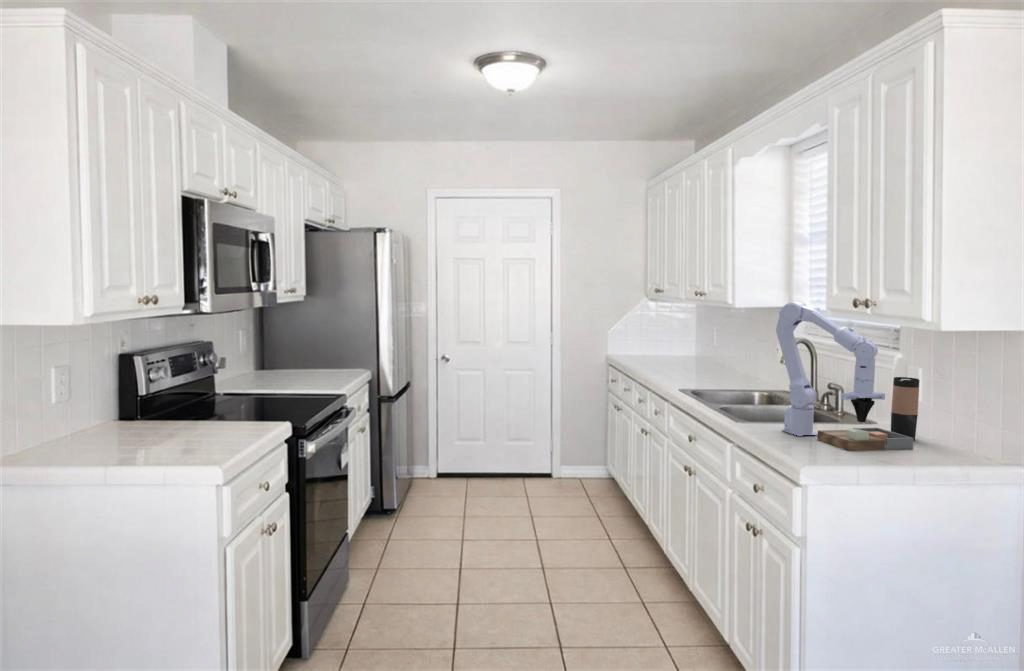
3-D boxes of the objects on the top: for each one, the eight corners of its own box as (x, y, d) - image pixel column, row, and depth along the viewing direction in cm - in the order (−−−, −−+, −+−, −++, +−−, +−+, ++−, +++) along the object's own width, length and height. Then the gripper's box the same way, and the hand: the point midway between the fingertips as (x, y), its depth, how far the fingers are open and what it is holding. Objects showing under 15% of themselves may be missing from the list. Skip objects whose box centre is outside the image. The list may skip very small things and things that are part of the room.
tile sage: (845, 437, 228) (846, 429, 227) (858, 436, 228) (859, 429, 228) (855, 440, 223) (855, 432, 223) (868, 439, 224) (868, 432, 224)
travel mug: (912, 437, 244) (916, 377, 242) (918, 442, 237) (922, 380, 235) (887, 435, 246) (891, 376, 245) (892, 440, 239) (896, 379, 237)
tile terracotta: (878, 431, 238) (877, 438, 238) (865, 431, 237) (865, 438, 237) (887, 434, 234) (887, 441, 234) (875, 434, 233) (875, 442, 233)
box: (850, 438, 240) (850, 428, 239) (877, 438, 242) (877, 427, 241) (884, 450, 224) (885, 438, 224) (912, 449, 226) (913, 438, 226)
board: (817, 439, 237) (817, 430, 237) (850, 438, 240) (850, 429, 239) (849, 451, 222) (850, 441, 221) (884, 450, 224) (885, 440, 224)
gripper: (852, 381, 228) (849, 424, 229) (892, 381, 231) (889, 424, 232) (837, 378, 235) (835, 420, 236) (877, 378, 238) (874, 419, 239)
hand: (861, 421), depth 234 cm, fingers closed
